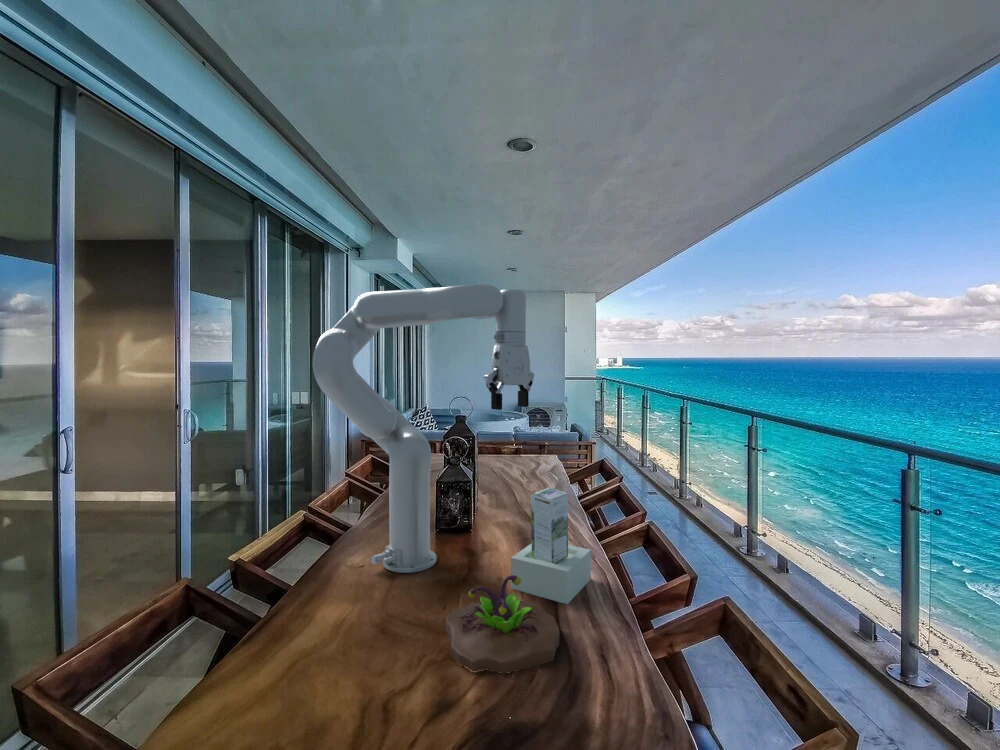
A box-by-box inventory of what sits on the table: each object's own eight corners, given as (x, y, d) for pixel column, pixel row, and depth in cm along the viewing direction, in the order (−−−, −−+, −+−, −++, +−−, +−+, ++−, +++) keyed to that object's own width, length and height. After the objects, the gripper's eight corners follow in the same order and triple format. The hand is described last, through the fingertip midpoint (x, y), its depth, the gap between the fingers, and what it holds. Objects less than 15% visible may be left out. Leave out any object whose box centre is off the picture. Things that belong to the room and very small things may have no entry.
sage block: (567, 605, 100) (567, 571, 100) (510, 590, 106) (510, 557, 106) (590, 580, 111) (591, 549, 111) (538, 567, 118) (538, 538, 117)
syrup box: (548, 549, 112) (546, 486, 111) (569, 557, 108) (567, 491, 107) (531, 558, 108) (529, 492, 107) (552, 566, 104) (550, 498, 103)
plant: (575, 667, 80) (576, 599, 80) (454, 683, 76) (454, 611, 76) (541, 605, 100) (541, 550, 99) (442, 615, 96) (442, 558, 96)
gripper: (497, 338, 116) (496, 412, 117) (544, 340, 128) (543, 406, 129) (474, 339, 121) (474, 409, 122) (522, 340, 134) (521, 404, 134)
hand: (510, 407), depth 125 cm, fingers open, 9 cm apart
